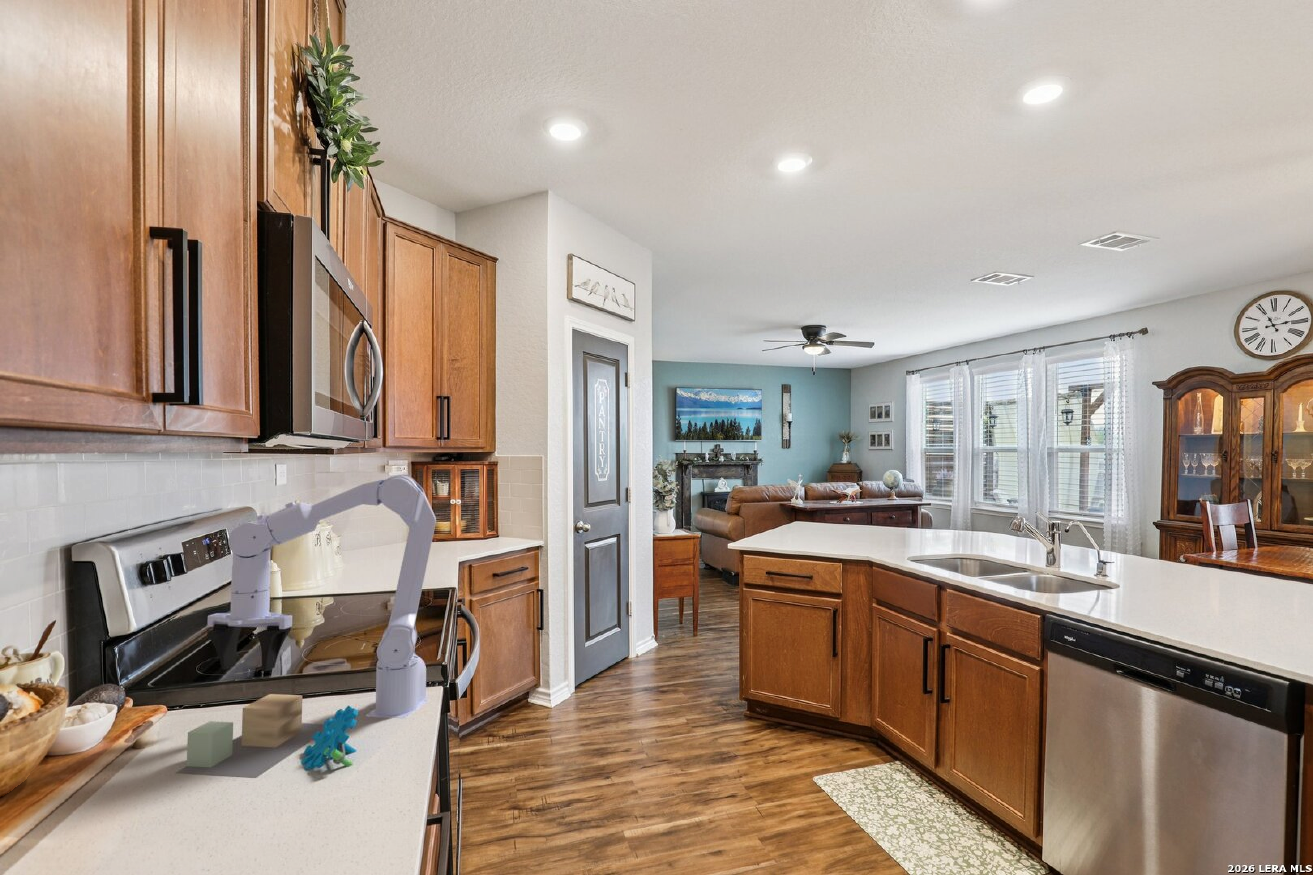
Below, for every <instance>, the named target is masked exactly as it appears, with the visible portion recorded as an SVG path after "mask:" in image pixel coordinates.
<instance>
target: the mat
mask: <svg viewBox="0 0 1313 875" xmlns="http://www.w3.org/2000/svg"><path fill="white" fill-rule="evenodd" d="M323 724H324V723H308V722H307V723H305V722H302V731H301V732H299V733H298V734H296V735H295V736H293V737H292V738H290V739H288V740H287V741H285V742H284V743H282V744H281V745H279V746H277V747H257V746H241V745H242V734H241V735H239V736H237V737H236V738H234V739H233V748H232V755H231V756H229V757H228V758H226V759H224V760H223V761H221V762H219V763H218V764H216V765H214V766H213V767H194V766H187V765H186V766H185V767H183V768H181V769H178V770H177V771H175V772H174V773H175V774H180V775H181V774H182V775H183V774H184V775H198V776H199V775H201V776H218V777H232V778H233V777H234V778H235V777H236V778H249V779H251V778H252V779H253V778H254V779H256V778H259V776H261V775H262V774H264V773H265V772H267V771H268V770H270V769H272V768H273V767H275V766H276V765H277V764H279V763H281V762H282V761H283V760H285V759H287V757H290V756H291V755H292V754H294V753H295V752H297V751H298V750H300V749H301V748H303V747H305V746H306V745H307V744H309V743H310V742H312V741H314V740H313V739H312V737H313V735H314V734H315V733H316V732H317V731H319V732H320V733H322V731H323V729H324V725H323Z"/></svg>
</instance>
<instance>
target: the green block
mask: <svg viewBox="0 0 1313 875" xmlns="http://www.w3.org/2000/svg"><path fill="white" fill-rule="evenodd" d="M233 738H234V721H233V722H232V721H216V720H215V721H212V720H210V721H207V722H206V723H204V724H202V725H200V726H198V727H196V728H194V729H192V730H189V731H188V732H187V745H186V746H187V750H186V766H194V767H213V766H214V765H216V764H218V763H219V762H221V761H223V760H224V759H226V758H228V757H229V756H231V755H232V748H233V740H234V739H233Z"/></svg>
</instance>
